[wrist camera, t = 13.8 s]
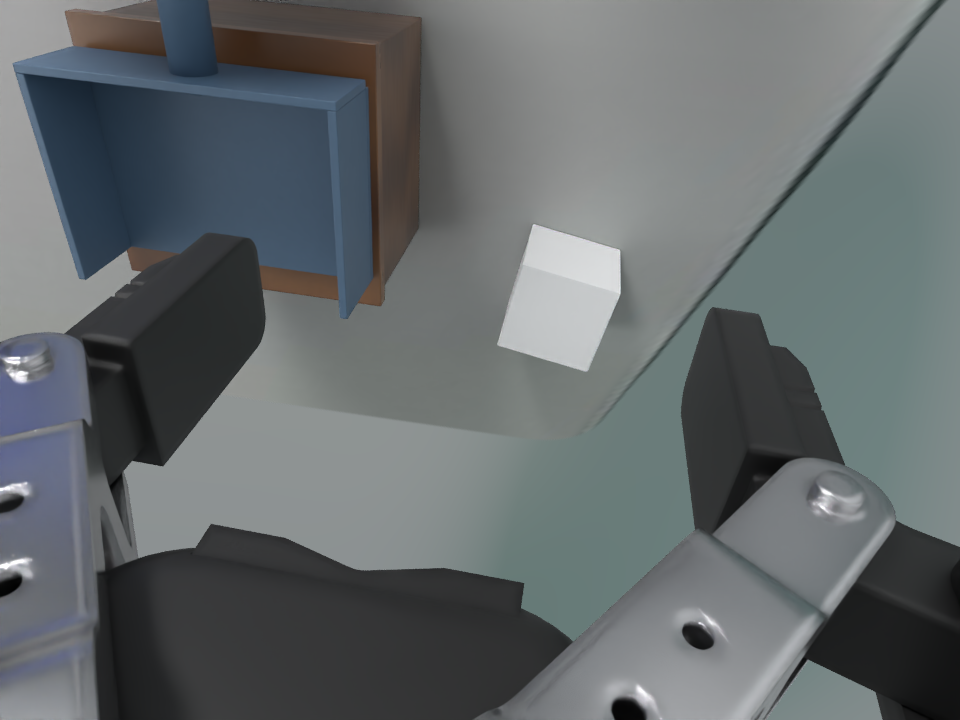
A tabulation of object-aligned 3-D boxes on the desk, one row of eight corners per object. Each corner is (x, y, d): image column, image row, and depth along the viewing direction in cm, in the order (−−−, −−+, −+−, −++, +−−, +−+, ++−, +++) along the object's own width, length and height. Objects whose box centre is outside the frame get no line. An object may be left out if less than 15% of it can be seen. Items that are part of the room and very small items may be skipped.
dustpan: (373, 278, 37) (347, 319, 33) (129, 242, 38) (78, 279, 35) (361, -207, 25) (318, -223, 21) (8, -233, 26) (-87, -252, 23)
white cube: (532, 223, 44) (522, 264, 39) (620, 249, 44) (621, 293, 39) (509, 299, 48) (496, 345, 43) (590, 323, 48) (587, 372, 43)
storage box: (177, -14, 40) (63, 10, 31) (426, 11, 38) (375, 44, 30) (217, 219, 48) (135, 285, 40) (422, 247, 46) (381, 322, 38)
